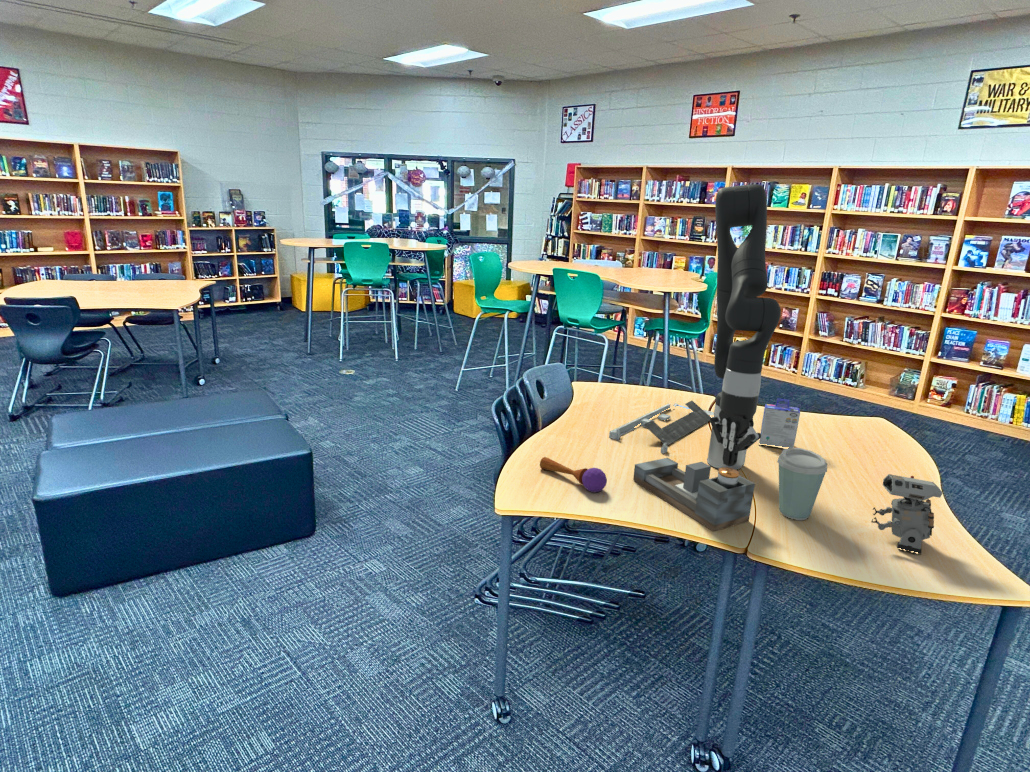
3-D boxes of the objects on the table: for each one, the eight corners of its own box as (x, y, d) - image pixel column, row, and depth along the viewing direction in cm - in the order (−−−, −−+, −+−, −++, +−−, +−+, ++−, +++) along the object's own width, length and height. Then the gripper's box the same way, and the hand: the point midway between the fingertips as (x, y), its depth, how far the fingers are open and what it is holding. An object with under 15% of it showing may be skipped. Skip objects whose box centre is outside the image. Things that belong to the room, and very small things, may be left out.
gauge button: (726, 480, 141) (728, 466, 140) (741, 488, 137) (743, 473, 136) (712, 483, 139) (714, 469, 138) (727, 491, 135) (729, 477, 134)
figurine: (866, 525, 141) (880, 465, 137) (925, 539, 136) (941, 477, 132) (866, 542, 133) (881, 479, 129) (928, 558, 128) (946, 493, 124)
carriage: (693, 487, 152) (697, 458, 150) (714, 500, 146) (719, 469, 144) (674, 492, 149) (677, 462, 147) (694, 505, 143) (699, 473, 141)
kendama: (552, 451, 166) (613, 470, 152) (550, 472, 166) (609, 493, 152) (537, 452, 161) (598, 472, 147) (535, 474, 162) (594, 496, 148)
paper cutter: (608, 438, 188) (610, 421, 186) (674, 406, 221) (676, 391, 219) (662, 455, 177) (665, 437, 175) (723, 418, 210) (725, 403, 208)
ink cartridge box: (792, 445, 188) (801, 400, 183) (794, 451, 183) (802, 405, 178) (758, 439, 191) (765, 395, 187) (758, 446, 186) (766, 400, 182)
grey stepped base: (665, 473, 164) (669, 440, 161) (748, 521, 140) (755, 483, 138) (633, 480, 159) (636, 446, 156) (713, 531, 135) (719, 492, 133)
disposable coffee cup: (828, 522, 141) (840, 463, 137) (789, 528, 138) (801, 466, 134) (795, 501, 151) (806, 445, 147) (758, 506, 148) (768, 448, 144)
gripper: (778, 397, 128) (764, 473, 133) (729, 380, 139) (718, 451, 144) (752, 401, 124) (739, 479, 129) (705, 383, 135) (694, 456, 140)
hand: (728, 464), depth 136 cm, fingers closed
